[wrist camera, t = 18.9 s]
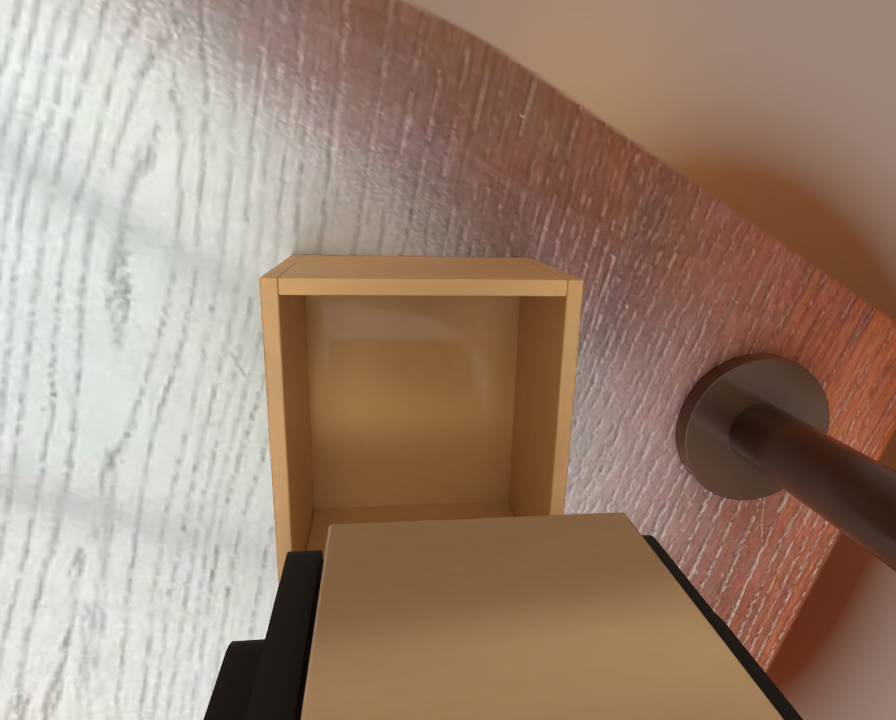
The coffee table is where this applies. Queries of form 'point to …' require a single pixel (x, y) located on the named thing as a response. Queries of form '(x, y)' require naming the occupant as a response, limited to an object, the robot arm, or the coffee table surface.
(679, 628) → the block
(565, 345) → the carton
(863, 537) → the stand
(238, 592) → the coffee table surface
